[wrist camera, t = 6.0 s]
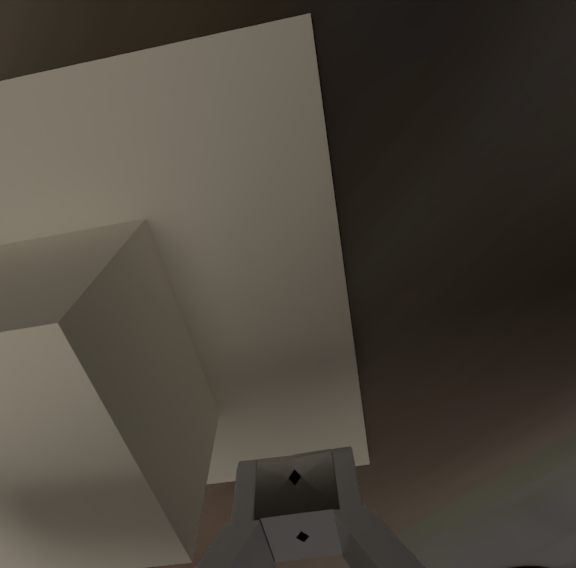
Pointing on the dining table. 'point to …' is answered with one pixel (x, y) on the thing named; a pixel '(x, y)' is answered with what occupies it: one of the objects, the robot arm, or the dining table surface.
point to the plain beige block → (98, 405)
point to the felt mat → (209, 216)
